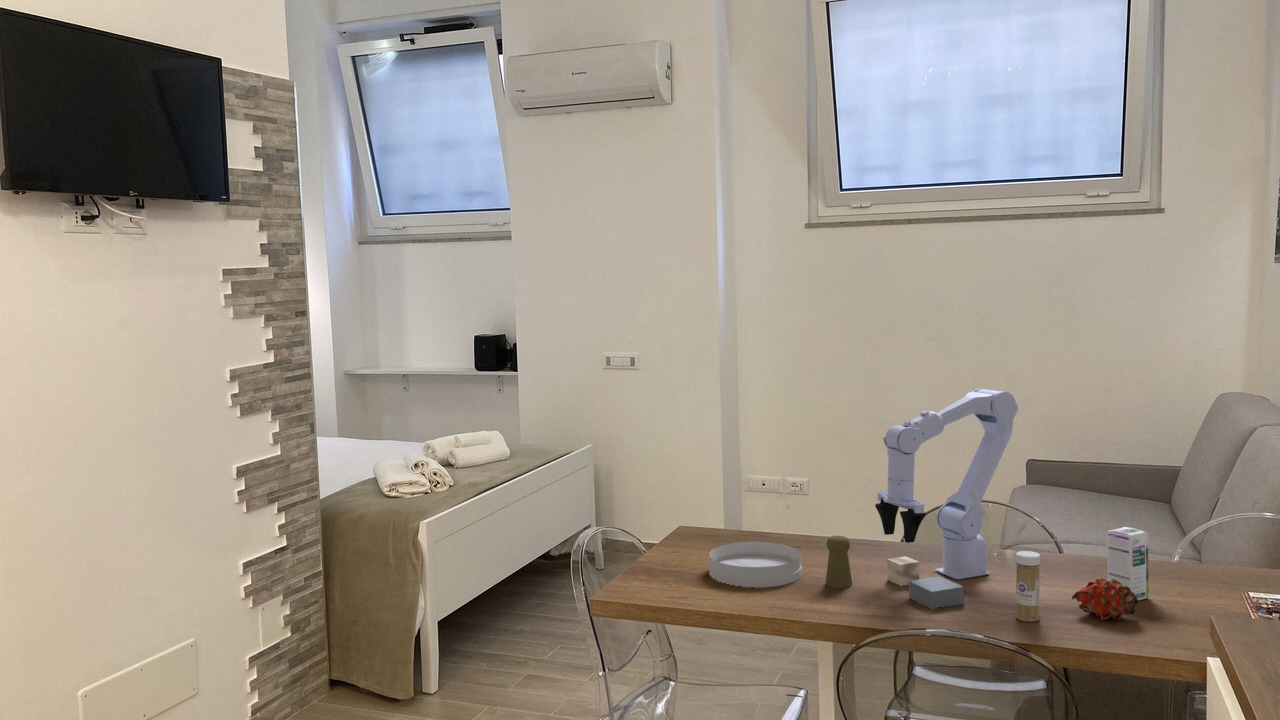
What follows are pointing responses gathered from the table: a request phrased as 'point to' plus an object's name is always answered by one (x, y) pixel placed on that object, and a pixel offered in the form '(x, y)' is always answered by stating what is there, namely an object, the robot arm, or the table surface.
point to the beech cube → (902, 570)
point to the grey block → (936, 592)
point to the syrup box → (1129, 559)
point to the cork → (838, 563)
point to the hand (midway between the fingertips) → (899, 538)
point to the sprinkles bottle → (1027, 586)
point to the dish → (755, 564)
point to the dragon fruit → (1106, 599)
